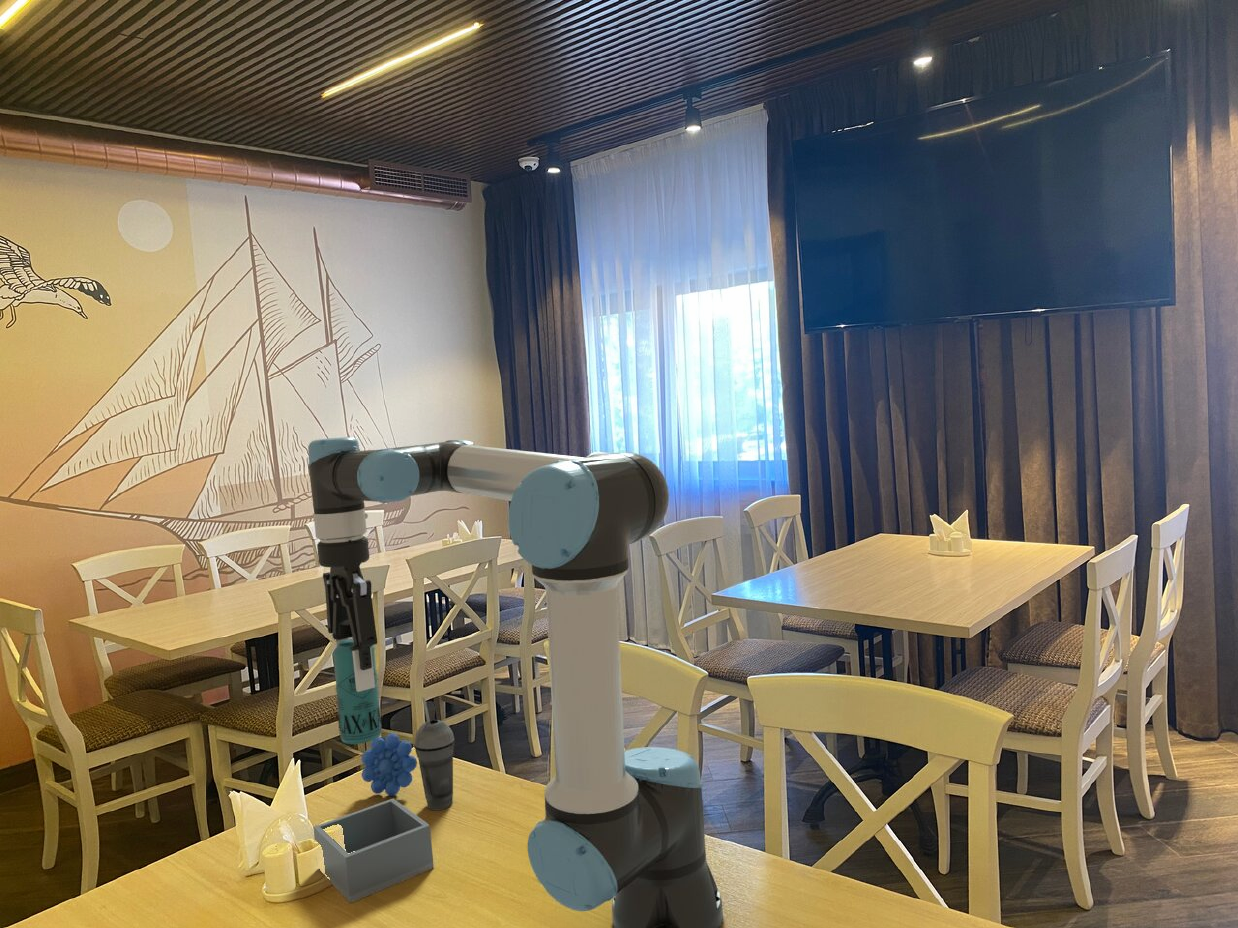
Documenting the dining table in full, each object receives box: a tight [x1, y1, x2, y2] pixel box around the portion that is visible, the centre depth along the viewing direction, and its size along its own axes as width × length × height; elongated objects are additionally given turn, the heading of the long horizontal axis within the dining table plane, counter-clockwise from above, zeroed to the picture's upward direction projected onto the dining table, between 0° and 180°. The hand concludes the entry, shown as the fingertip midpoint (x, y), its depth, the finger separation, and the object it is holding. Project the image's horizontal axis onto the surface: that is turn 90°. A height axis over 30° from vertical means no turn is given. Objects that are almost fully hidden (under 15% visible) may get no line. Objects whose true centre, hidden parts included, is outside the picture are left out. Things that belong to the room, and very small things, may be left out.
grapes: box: [360, 733, 418, 797], centre depth 170 cm, size 12×7×12 cm, turn 75°
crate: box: [313, 798, 435, 904], centre depth 143 cm, size 14×14×7 cm
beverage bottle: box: [332, 620, 383, 745], centre depth 141 cm, size 6×7×20 cm
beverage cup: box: [413, 697, 456, 811], centre depth 164 cm, size 7×7×20 cm
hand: (356, 683), depth 141 cm, fingers closed on beverage bottle, 6 cm apart
